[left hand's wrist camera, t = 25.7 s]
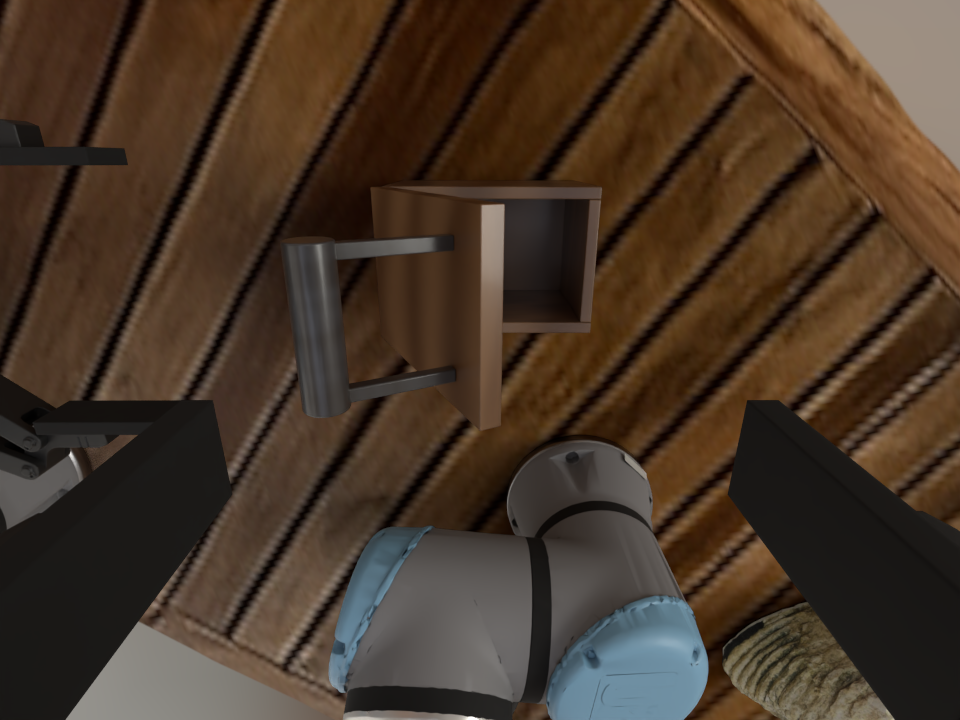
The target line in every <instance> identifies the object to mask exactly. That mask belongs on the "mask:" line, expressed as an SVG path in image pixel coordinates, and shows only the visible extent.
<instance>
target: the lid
mask: <svg viewBox="0 0 960 720" xmlns="http://www.w3.org/2000/svg"><path fill="white" fill-rule="evenodd" d="M371 199H372V213H373V227H374V238H371V239H356V240H340V241H335V240H334V239H333V238H330V237H317V236H312V237H295V238H288V239H284V240H282V241H281V242H280V247H281V255H282V262H283V269H284V277H285V284H286V291H287V299H288V306H289V313H290V321H291V328H292V336H293V343H294V350H295V358H296V365H297V372H298V380H299V387H300V394H301V402H302V409H303V412H304V413H305V414H306V415H308V416H311V417H316V418H326V417H333V416H336V415H339V414H342V413H344V412H346V411H347V410H348V409H349V408H350V406H351V402H356V401H361V400H366V399H371V398H376V397H381V396H386V395H391V394H396V393H401V392H406V391H411V390H416V389H421V388H426V387H431V386H434V387H435V388H436V389H437V390H438V391H439V392H440V393H441V394H442V395H443V396H444V397H445V398H446V399H447V400H448V401H449V402H450V403H452V404H453V405H454V406H455V407H456V408H457V409H458V410H459V411H460V412H461V413H462V414H463V415H464V416H465V417H466V418H467V419H468V420H469V421H470V422H471V423H472V424H474V425H475V426H476V427H477V428H478V429H479V430H480V431H482V430H486V429H490V428H494V427H498V426H501V381H502V329H503V276H504V223H505V204H504V203H497V202H490V201H483V200H477V199H470V198H463V197H456V196H449V195H442V194H435V193H428V192H421V191H414V190H407V189H400V188H393V187H371ZM370 257H376V270H377V284H378V298H379V312H380V326H381V337H382V338H384V339H385V340H386V341H387V342H388V343H389V344H390V345H391V346H392V347H393V348H394V349H395V350H396V351H397V352H398V353H399V354H400V355H401V356H402V357H403V358H404V359H405V360H407V361H408V362H409V363H410V364H411V365H412V366H413V367H414V368H415V369H416V370H417V371H416V372H411V373H405V374H400V375H395V376H389V377H384V378H378V379H373V380H367V381H362V382H356V383H351V384H349V377H348V367H347V357H346V347H345V336H344V326H343V316H342V306H341V295H340V285H339V275H338V265H337V260H345V259H357V258H370Z"/></svg>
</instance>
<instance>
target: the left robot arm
mask: <svg viewBox="0 0 960 720" xmlns="http://www.w3.org/2000/svg"><path fill="white" fill-rule="evenodd" d="M231 495H232V491H231V486H230V481H229V476H228V472H227V467H226V462H225V457H224V452H223V448H222V443H221V438H220V433H219V428H218V423H217V419H216V414H215V409H214V404H213V400H181V401H180V402H179V403H178V404H176V405H175V406H174V407H173V408H171V409H170V410H169V411H168V412H166V413H165V414H164V415H163V416H161V417H160V418H159V419H158V420H156V421H155V422H154V423H153V424H151V425H150V426H149V427H148V428H146V429H145V430H144V431H143V432H142V433H140V434H139V435H138V436H137V437H135V438H134V439H133V440H132V441H130V442H129V443H128V444H127V445H125V446H124V447H123V448H122V449H120V450H119V451H118V452H117V453H115V454H114V455H113V456H112V457H110V458H109V459H108V460H107V461H106V462H104V463H103V464H102V465H101V466H99V467H98V468H97V469H96V470H94V471H93V472H92V473H91V474H89V475H88V476H87V477H86V478H84V479H83V480H82V481H81V482H79V483H78V484H77V485H76V486H74V487H73V488H72V489H71V490H70V491H68V492H67V493H66V494H65V495H63V496H62V497H61V498H60V499H58V500H57V501H56V502H55V503H53V504H52V505H51V506H50V507H48V508H47V509H46V510H45V511H43V512H42V513H37V514H35V515H33V516H31V517H30V518H28V519H26V520H24V521H22V522H20V523H18V524H16V525H15V526H13V527H11V528H9V529H7V530H5V531H4V532H2V533H1V534H0V720H66V718H67V717H68V715H69V714H70V713H71V711H72V710H73V709H74V707H75V706H76V705H77V703H78V702H79V701H80V699H81V698H82V697H83V695H84V694H85V692H86V691H87V690H88V688H89V687H90V686H91V684H92V683H93V682H94V680H95V679H96V678H97V676H98V675H99V674H100V672H101V671H102V670H103V668H104V667H105V666H106V664H107V663H108V661H109V660H110V659H111V657H112V656H113V655H114V653H115V652H116V651H117V649H118V648H119V647H120V645H121V644H122V643H123V641H124V640H125V639H126V637H127V636H128V634H129V633H130V632H131V630H132V629H133V628H134V626H135V625H136V624H137V622H138V621H139V620H140V618H141V617H142V616H143V614H144V613H145V611H146V610H147V609H148V607H149V606H150V605H151V603H152V602H153V601H154V599H155V598H156V597H157V595H158V594H159V593H160V591H161V590H162V589H163V587H164V586H165V584H166V583H167V582H168V580H169V579H170V578H171V576H172V575H173V574H174V572H175V571H176V570H177V568H178V567H179V566H180V564H181V563H182V562H183V560H184V559H185V557H186V556H187V555H188V553H189V552H190V551H191V549H192V548H193V547H194V545H195V544H196V543H197V541H198V540H199V539H200V537H201V536H202V535H203V533H204V532H205V530H206V529H207V528H208V526H209V525H210V524H211V522H212V521H213V520H214V518H215V517H216V516H217V514H218V513H219V512H220V510H221V509H222V508H223V506H224V505H225V503H226V502H227V501H228V499H229V498H230V497H231ZM728 495H729V497H730V498H731V499H732V501H733V502H734V503H735V505H736V506H737V508H738V509H739V510H740V512H741V513H742V514H743V516H744V517H745V518H746V520H747V521H748V522H749V524H750V525H751V526H752V528H753V529H754V530H755V532H756V533H757V535H758V536H759V537H760V539H761V540H762V541H763V543H764V544H765V545H766V547H767V548H768V549H769V551H770V552H771V553H772V555H773V556H774V557H775V559H776V560H777V562H778V563H779V564H780V566H781V567H782V568H783V570H784V571H785V572H786V574H787V575H788V576H789V578H790V579H791V580H792V582H793V583H794V584H795V586H796V587H797V589H798V590H799V591H800V593H801V594H802V595H803V597H804V598H805V599H806V601H807V602H808V603H809V605H810V606H811V607H812V609H813V610H814V611H815V613H816V614H817V616H818V617H819V618H820V620H821V621H822V622H823V624H824V625H825V626H826V628H827V629H828V630H829V632H830V633H831V634H832V636H833V637H834V639H835V640H836V641H837V643H838V644H839V645H840V647H841V648H842V649H843V651H844V652H845V653H846V655H847V656H848V657H849V659H850V660H851V661H852V663H853V664H854V666H855V667H856V668H857V670H858V671H859V672H860V674H861V675H862V676H863V678H864V679H865V680H866V682H867V683H868V684H869V686H870V687H871V688H872V690H873V691H874V693H875V694H876V695H877V697H878V698H879V699H880V701H881V702H882V703H883V705H884V706H885V707H886V709H887V710H888V711H889V713H890V714H891V715H892V717H893V718H894V720H960V531H958V530H957V529H955V528H953V527H952V526H950V525H948V524H946V523H944V522H942V521H940V520H938V519H936V518H935V517H933V516H931V515H929V514H927V513H925V512H923V511H915V510H914V509H913V508H912V507H910V506H909V505H908V504H907V503H905V502H904V501H903V500H902V499H900V498H899V497H898V496H897V495H895V494H894V493H893V492H892V491H890V490H889V489H888V488H887V487H886V486H884V485H883V484H882V483H881V482H879V481H878V480H877V479H876V478H874V477H873V476H872V475H871V474H869V473H868V472H867V471H866V470H864V469H863V468H862V467H861V466H859V465H858V464H857V463H856V462H854V461H853V460H852V459H851V458H850V457H848V456H847V455H846V454H845V453H843V452H842V451H841V450H840V449H838V448H837V447H836V446H835V445H833V444H832V443H831V442H830V441H828V440H827V439H826V438H825V437H823V436H822V435H821V434H820V433H818V432H817V431H816V430H815V429H814V428H812V427H811V426H810V425H809V424H807V423H806V422H805V421H804V420H802V419H801V418H800V417H799V416H797V415H796V414H795V413H794V412H792V411H791V410H790V409H789V408H787V407H786V406H785V405H784V404H782V403H781V402H780V401H779V400H747V404H746V409H745V414H744V419H743V423H742V428H741V433H740V438H739V443H738V448H737V452H736V457H735V462H734V467H733V472H732V476H731V481H730V486H729V491H728ZM507 511H508V517H509V520H510V523H511V526H512V529H513V531H514V533H515V535H516V536H515V535H503V534H491V533H479V532H469V531H459V530H450V529H440V528H435V527H434V526H426V527H423V528H421V527H388V528H385V529H383V530H381V531H379V532H378V533H376V534H375V535H374V536H373V537H372V538H371V540H370V541H369V542H368V544H367V545H366V547H365V549H364V550H363V552H362V554H361V556H360V558H359V560H358V563H357V565H356V567H355V570H354V572H353V575H352V577H351V580H350V583H349V586H348V589H347V592H346V595H345V598H344V601H343V604H342V608H341V611H340V615H339V618H338V622H337V627H336V631H335V637H336V640H335V641H334V645H333V649H332V652H331V656H330V663H329V680H330V682H331V684H332V686H333V687H335V688H337V689H338V690H339V692H341V693H347V691H348V694H347V700H346V705H345V711H344V717H343V720H512V714H513V712H514V710H515V709H516V707H517V704H518V702H525V703H537V704H546V706H547V708H548V714H549V715H550V718H551V719H552V720H683V719H684V718H686V716H687V715H688V714H689V713H690V712H691V711H692V710H693V709H694V707H695V706H696V704H697V703H698V701H699V699H700V698H701V696H702V694H703V691H704V689H705V686H706V682H707V677H708V659H707V654H706V650H705V647H704V645H703V642H702V639H701V636H700V634H699V631H698V628H697V625H696V621H695V616H694V614H693V611H692V609H691V608H690V607H689V605H688V604H687V603H686V601H685V599H684V597H683V595H682V593H681V590H680V588H679V586H678V584H677V582H676V580H675V578H674V576H673V574H672V572H671V569H670V567H669V565H668V563H667V561H666V559H665V557H664V555H663V553H662V551H661V548H660V546H659V544H658V542H657V540H656V538H655V536H654V534H653V532H652V521H651V515H652V493H651V488H650V484H649V481H648V479H647V474H646V472H645V471H644V470H643V468H642V467H641V465H640V463H639V462H638V461H637V459H636V458H635V457H634V456H633V455H632V454H631V453H630V452H629V451H628V450H627V449H625V448H624V447H622V446H621V445H619V444H617V443H615V442H613V441H610V440H607V439H604V438H600V437H596V436H586V435H578V436H568V437H563V438H559V439H556V440H553V441H550V442H548V443H546V444H544V445H542V446H540V447H538V448H537V449H535V450H534V451H532V452H531V453H530V454H528V455H527V456H526V457H525V458H524V459H523V460H522V461H521V463H520V464H519V465H518V466H517V468H516V469H515V471H514V473H513V474H512V477H511V479H510V482H509V485H508V489H507Z"/></svg>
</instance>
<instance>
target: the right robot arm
mask: <svg viewBox="0 0 960 720" xmlns="http://www.w3.org/2000/svg"><path fill="white" fill-rule="evenodd" d="M0 165H128V163H127V159H126V154H125V150H124V149H122V148H98V147H44V143H43V140H42V136H41V132H40V129H39V126H37V125H34V124H32V123H29V122H26V121H15V120H4V119H0ZM179 402H180V401H69V402H67V403H65V404H63V405H62V406H60V407H58V408H57V409H56V408H55V407H53V406H51V405H50V404H48V403H46V402H45V401H43V400H41V399H40V398H38V397H37V396H35V395H33V394H32V393H30V392H28V391H27V390H25V389H23V388H22V387H20V386H18V385H17V384H15V383H14V382H12V381H10V380H9V379H7V378H5V377H4V376H2V375H0V534H1V533H2V532H4V531H5V530H7V529H9V528H11V527H13V526H15V525H16V524H18V523H20V522H22V521H24V520H26V519H28V518H30V517H31V516H33V515H35V514H37V513H42V512H43V511H45V510H46V509H47V508H48V507H50V506H51V505H52V504H53V503H55V502H56V501H57V500H58V499H60V498H61V497H62V496H63V495H65V494H66V493H67V492H68V491H70V490H71V489H72V488H73V487H74V486H76V485H77V484H78V483H79V482H81V481H82V480H83V479H84V478H86V477H87V476H88V475H89V474H91V473H92V470H91V465H90V462H89V459H88V457H87V454H86V452H85V451H84V449H83V448H88V447H90V448H99V447H102V446H104V445H107V444H108V443H110V442H111V441H112V440H114V439H115V438H116V437H118V436H119V435H139V434H140V433H142V432H143V431H144V430H145V429H146V428H148V427H149V426H150V425H151V424H153V423H154V422H155V421H156V420H158V419H159V418H160V417H161V416H163V415H164V414H165V413H166V412H168V411H169V410H170V409H171V408H173V407H174V406H175V405H176V404H178V403H179Z"/></svg>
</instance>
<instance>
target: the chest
mask: <svg viewBox="0 0 960 720" xmlns="http://www.w3.org/2000/svg"><path fill="white" fill-rule="evenodd" d="M381 187H393V188H400V189H407V190H414V191H421V192H428V193H435V194H442V195H449V196H456V197H463V198H470V199H477V200H483V201H490V202H497V203H504V204H505V223H504V276H503V329H502V333H590V326H591V323H590V322H591V313H592V301H593V289H594V277H595V265H596V253H597V241H598V229H599V217H600V205H601V200H600V199H601V194H602V187H600V186H595V185H591V184H586V183H582V182H577V181H529V180H403V181H399V182H396V183H392V184H388V185H385V186H381Z"/></svg>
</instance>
